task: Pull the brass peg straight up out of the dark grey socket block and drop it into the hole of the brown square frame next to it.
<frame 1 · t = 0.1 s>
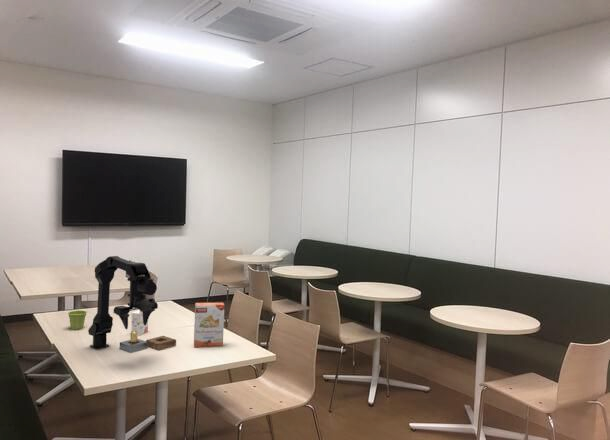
hand: (135, 327, 207), 15 cm above the table, tool pointing down, fingers open, 9 cm apart
cracker box: (208, 345, 232), on the table
brown square frame: (160, 345, 228), on the table
socket block: (133, 348, 223), on the table
plant pot: (77, 328, 253), on the table
ink cartridge box: (139, 333, 248), on the table
brass peg: (133, 340, 223), in the socket block
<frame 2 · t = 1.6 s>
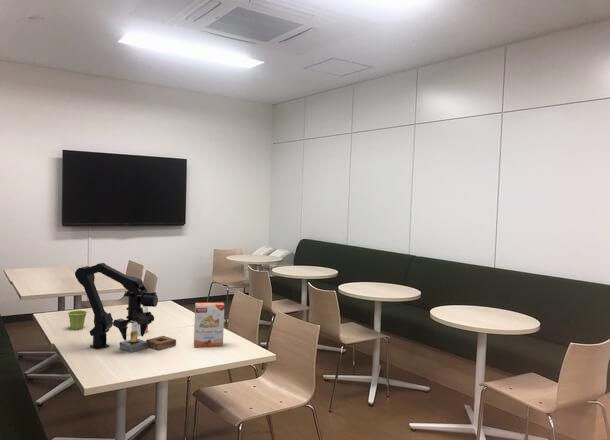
hand: (133, 338, 223), 5 cm above the table, tool pointing down, fingers open, 9 cm apart
nothing on the table moved.
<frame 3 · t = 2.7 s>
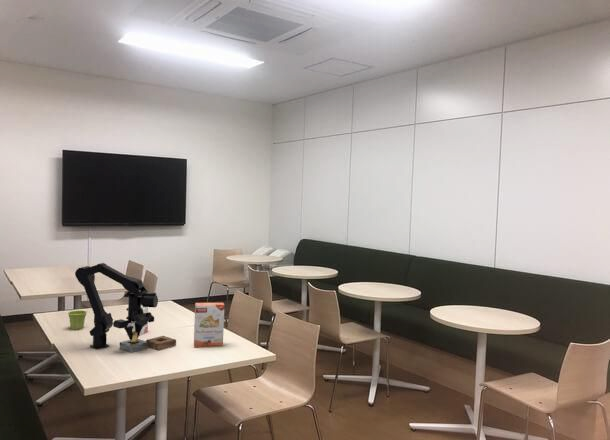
hand: (133, 339, 223), 5 cm above the table, tool pointing down, fingers closed on brass peg, 3 cm apart
brass peg: (133, 340, 223), in the socket block, touching gripper
everything else where it was.
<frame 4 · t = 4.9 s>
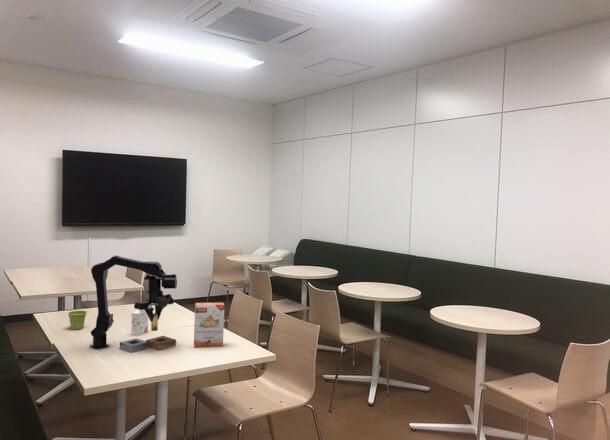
hand: (154, 320, 226), 13 cm above the table, tool pointing down, fingers closed on brass peg, 3 cm apart
brass peg: (154, 321, 226), point 12 cm above the table, touching gripper
everything else where it was.
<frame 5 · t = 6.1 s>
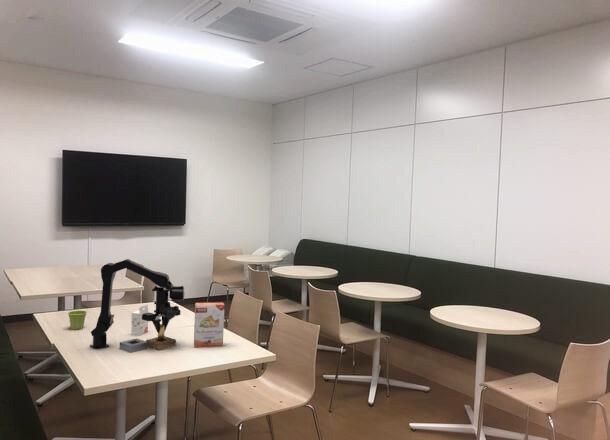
hand: (161, 331, 228), 7 cm above the table, tool pointing down, fingers closed on brass peg, 3 cm apart
brass peg: (161, 332, 228), point 6 cm above the table, touching gripper
everything else where it was.
when the fingers open (5 cm above the table, at t = 7.0 s): brass peg drops 1 cm, resting in brown square frame.
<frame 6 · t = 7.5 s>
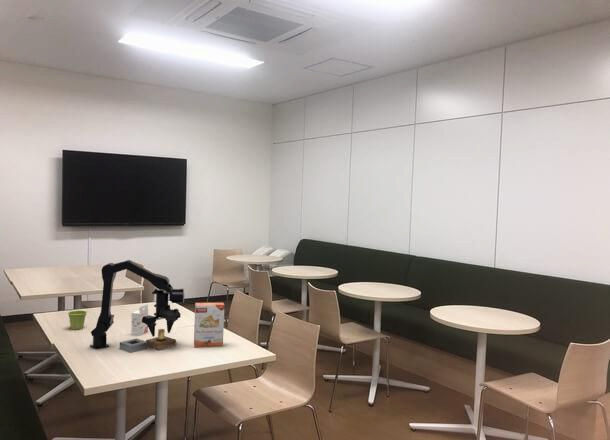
hand: (161, 334, 228), 5 cm above the table, tool pointing down, fingers open, 9 cm apart
brass peg: (161, 337, 228), in the brown square frame
everything else where it was.
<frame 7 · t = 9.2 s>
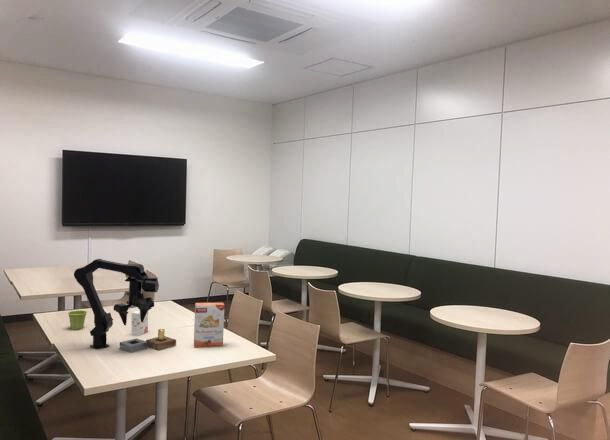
hand: (133, 323, 224), 12 cm above the table, tool pointing down, fingers open, 9 cm apart
nothing on the table moved.
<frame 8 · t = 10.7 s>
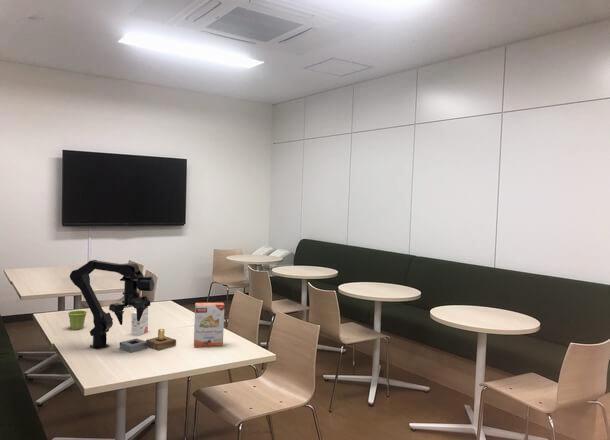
hand: (129, 323, 223), 12 cm above the table, tool pointing down, fingers open, 9 cm apart
nothing on the table moved.
at the end: brass peg 0.1 cm off-centre on the brown square frame, point 4.0 cm above the brown square frame's base; brass peg tilted 0°; the gripper is holding nothing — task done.
